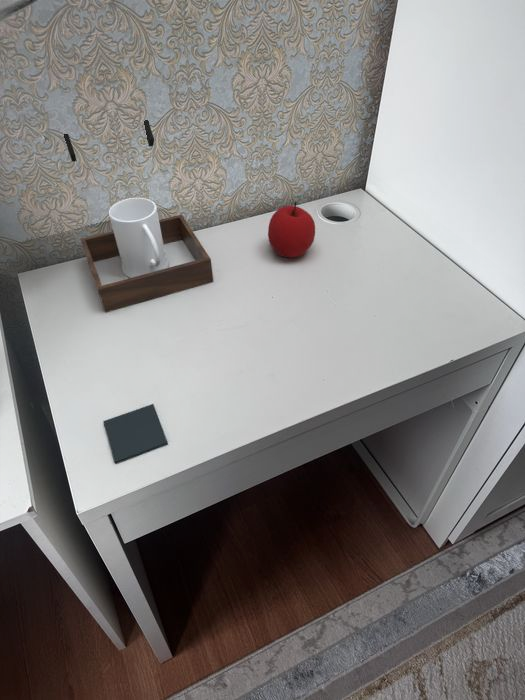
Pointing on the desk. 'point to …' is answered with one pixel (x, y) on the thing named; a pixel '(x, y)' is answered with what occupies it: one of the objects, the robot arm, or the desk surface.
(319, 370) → the desk surface
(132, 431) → the mat
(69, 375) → the desk surface
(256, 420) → the desk surface
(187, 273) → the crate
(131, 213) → the mug
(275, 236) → the apple
